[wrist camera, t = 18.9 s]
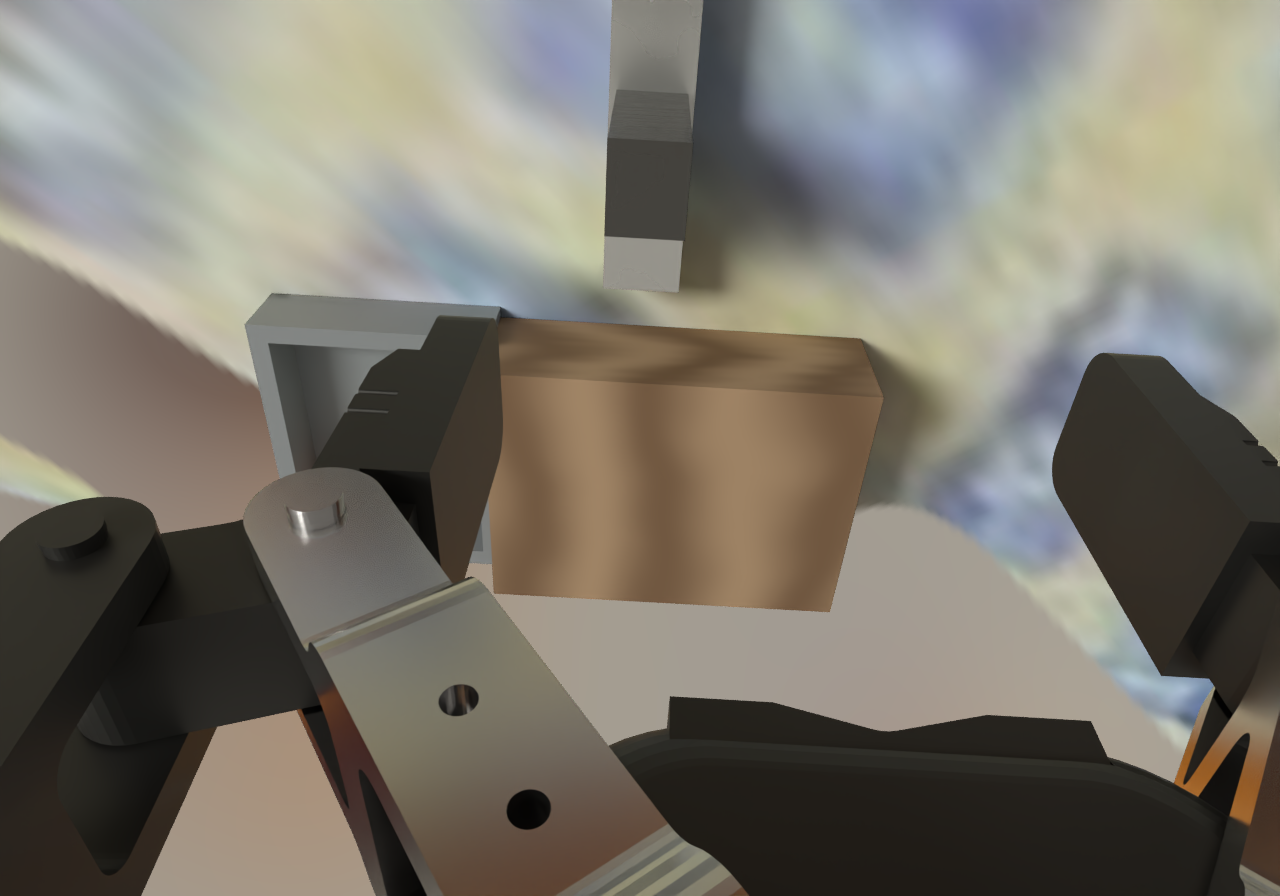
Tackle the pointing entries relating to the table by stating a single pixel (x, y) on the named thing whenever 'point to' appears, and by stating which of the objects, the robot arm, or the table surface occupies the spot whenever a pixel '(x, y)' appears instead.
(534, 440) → the walnut block
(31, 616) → the robot arm
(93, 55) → the table surface
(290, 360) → the tray
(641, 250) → the scraper
